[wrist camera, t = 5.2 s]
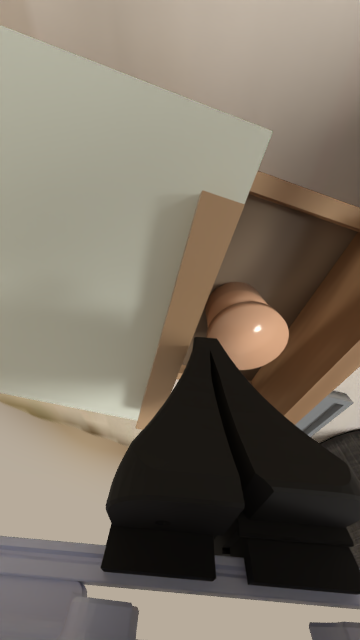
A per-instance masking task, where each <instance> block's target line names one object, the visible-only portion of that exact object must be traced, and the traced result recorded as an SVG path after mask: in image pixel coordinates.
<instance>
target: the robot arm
mask: <svg viewBox="0 0 360 640" xmlns="http://www.w3.org/2000/svg"><path fill="white" fill-rule="evenodd" d="M106 511H107V513H108V516H109V518H110V520H111V523H112V524H111V528H110V532H109V536H108V540H107V544H106V545H95V544H84V543H73V542H61V541H50V540H40V539H28V538H18V537H6V536H0V640H136V629H137V621H138V614H139V611H138V608H137V607H134V606H132V604H131V603H128V602H120V601H112V600H104V599H96V598H87V591H86V588H85V586H84V585H83V584H86V585H97V586H107V587H119V588H130V589H141V590H152V591H163V592H174V593H185V594H196V595H207V596H218V597H230V598H240V599H251V600H263V601H274V602H284V603H285V602H286V603H295V604H306V605H318V606H329V607H340V608H351V609H360V568H359V567H358V565H357V562H356V560H355V558H354V556H353V554H352V552H351V550H350V548H349V547H353V546H354V543H353V540H352V538H351V536H350V534H349V532H348V530H347V528H346V527H348V526H350V525H352V524H354V523H356V522H358V521H360V483H359V482H358V480H357V478H356V477H355V475H354V474H353V472H352V471H351V469H350V468H349V466H348V465H347V463H345V462H344V461H343V460H341V459H340V458H338V457H337V456H336V455H334V454H333V453H331V452H330V451H329V450H327V449H326V448H325V447H323V446H322V445H320V444H319V443H318V442H316V441H315V440H313V439H312V438H311V437H309V436H308V435H307V434H306V433H304V432H303V431H302V430H301V429H299V428H298V427H297V426H296V425H294V424H293V423H292V422H291V421H289V420H288V419H287V418H286V417H285V416H284V415H282V414H281V413H280V412H279V411H278V410H277V409H276V408H275V407H273V406H272V405H271V404H270V403H269V402H268V401H267V400H266V399H265V398H264V397H263V396H262V395H261V394H260V393H259V392H258V391H257V390H256V389H255V388H254V387H253V386H252V385H251V384H250V382H249V381H248V380H247V379H246V378H245V377H244V375H243V374H242V373H241V372H240V370H239V369H238V368H237V367H236V365H235V364H234V363H233V361H232V360H231V359H230V357H229V356H228V354H227V353H226V351H225V350H224V348H223V347H222V345H221V344H220V342H219V341H218V339H217V338H206V337H195V338H194V342H193V349H192V353H191V356H190V358H189V361H188V363H187V365H186V368H185V370H184V372H183V374H182V376H181V378H180V379H179V381H178V383H177V385H176V386H175V388H174V389H173V391H172V393H171V394H170V396H169V397H168V399H167V400H166V401H165V403H164V404H163V406H162V407H161V408H160V409H159V411H158V412H157V413H156V415H155V416H154V417H153V418H152V420H151V421H150V422H149V423H148V425H147V426H146V427H145V428H144V429H143V430H142V431H141V432H140V434H139V435H138V436H137V437H136V438H135V439H134V440H133V441H132V443H131V444H130V446H129V448H128V450H127V452H126V454H125V455H124V457H123V459H122V461H121V463H120V465H119V467H118V469H117V472H116V474H115V477H114V479H113V482H112V485H111V489H110V492H109V496H108V499H107V503H106ZM309 629H310V633H311V636H312V639H313V640H360V623H354V622H338V623H312V622H310V624H309Z"/></svg>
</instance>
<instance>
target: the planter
mask: <svg viewBox="0 0 360 640" xmlns="http://www.w3.org/2000/svg"><path fill="white" fill-rule="evenodd" d="M320 445H322V446H323V447H325V448H326V449H327V450H329V451H330V452H331V453H333V454H334V455H336V456H337V457H338V458H340V459H341V460H343V461H344V462H345V463H347V465H348V466H349V468H350V469H351V471H352V472H353V474H354V475H355V477H356V478H357V480H358V482H359V483H360V430H359V431H354V432H350V433H346V434H343V435H340V436H337V437H334V438H332V439H329V440H327V441H325V442H323V443H321V444H320ZM346 528H347V530H348V532H349V534H350V536H351V538H352V540H353V543H354V546H353V547H349V548H350V550H351V552H352V554H353V556H354V558H355V560H356V562H357V565H358V567H359V568H360V521H358V522H356V523H354V524H352V525H350V526H348V527H346Z"/></svg>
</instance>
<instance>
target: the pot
mask: <svg viewBox="0 0 360 640" xmlns="http://www.w3.org/2000/svg"><path fill="white" fill-rule="evenodd" d="M205 311H206V318H207V326H208V329H207V338H217V339H218V341H219V342H220V344H221V345H222V347H223V348H224V350H225V351H226V353H227V354H228V356H229V357H230V359H231V360H232V361H233V363H234V364H235V365H236V367H237V368H238V369H239V370H249V369H254V368H258V367H261V366H264V365H266V364H268V363H269V362H271V361H273V360H274V359H275V358H277V357H278V356H279V355H280V354H281V352H282V351H283V350H284V348H285V347H286V344H287V342H288V338H289V330H288V326H287V324H286V322H285V320H284V319H283V318H282V317H281V315H280V314H279V313H278V312H277V311H276V310H275V309H274V308H273V307H271V306H269V305H268V304H267V303H266V302H265V300H264V299H263V298H262V297H261V295H260V294H259V293H258V292H257V290H256V289H255V288H254V287H252V286H251V285H249V284H246V283H243V282H230V283H226V284H224V285H222V286H220V287H218V288H217V289H215V290H214V291H213V292H212V293H211V295H210V296H209V298H208V300H207V302H206V307H205Z"/></svg>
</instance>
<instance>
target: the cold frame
mask: <svg viewBox="0 0 360 640" xmlns="http://www.w3.org/2000/svg"><path fill="white" fill-rule="evenodd" d="M230 282H243V283H246V284H249V285H251V286H252V287H254V288H255V289H256V290H257V292H258V293H259V294H260V295H261V297H262V298H263V299H264V300H265V302H266V303H267V304H268V305H269V306H271V307H273V308H274V309H275V310H276V311H277V312H278V313H279V314H280V315H281V317H282V318H283V319H284V320H285V322H286V324H287V326H288V330H289V338H288V342H287V344H286V347H285V348H284V350H283V351H282V352H281V354H280V355H279V356H278V357H277V358H275V359H274V360H273V361H271V362H269V363H268V364H266V365H264V366H261V367H258V368H254V369H249V370H240V372H241V373H242V374H243V375H244V377H245V378H246V379H247V380H248V381H249V382H250V384H251V385H252V386H253V387H254V388H255V389H256V390H257V391H258V392H259V393H260V394H261V395H262V396H263V397H264V398H265V399H266V400H267V401H268V402H269V403H270V404H271V405H272V406H273V407H275V408H276V409H277V410H278V411H279V412H280V413H281V414H282V415H284V416H285V417H286V418H287V419H288V420H289V421H291V422H292V423H293V424H294V425H295V424H297V423H298V422H299V421H300V420H301V419H302V418H303V417H304V416H305V415H306V414H308V413H309V412H310V411H311V410H312V409H313V408H314V407H315V406H316V405H318V404H319V403H320V402H321V401H322V400H323V399H324V398H325V397H326V396H328V395H329V394H330V393H331V392H332V391H333V390H334V389H335V388H336V387H337V386H339V385H340V384H341V383H342V382H343V381H344V380H345V379H346V378H347V377H349V376H350V375H351V374H352V373H353V372H354V371H355V370H356V369H357V368H358V367H360V208H359V207H356V206H353V205H351V204H348V203H345V202H342V201H340V200H337V199H334V198H331V197H329V196H326V195H323V194H320V193H318V192H315V191H312V190H309V189H307V188H304V187H301V186H298V185H296V184H293V183H290V182H287V181H284V180H282V179H279V178H276V177H273V176H271V175H268V174H265V173H262V172H260V171H257V174H256V176H255V179H254V181H253V184H252V187H251V189H250V192H249V194H248V197H247V199H246V202H245V206H244V208H243V211H242V213H241V216H240V218H239V221H238V223H237V226H236V229H235V231H234V234H233V236H232V239H231V241H230V244H229V246H228V249H227V251H226V254H225V257H224V259H223V262H222V264H221V267H220V269H219V272H218V274H217V277H216V279H215V282H214V284H213V287H212V290H211V292H210V295H211V293H212V292H213V291H214V290H215V289H217V288H218V287H220V286H222V285H224V284H226V283H230ZM210 295H209V296H210ZM208 298H209V297H208ZM205 307H206V305H205ZM205 307H204V310H203V312H202V315H201V317H200V320H199V323H198V325H197V328H196V330H195V333H194V335H193V338H192V340H191V343H190V345H189V348H188V350H187V353H186V356H185V358H184V361H183V363H182V366H181V368H180V371H179V373H178V376H177V378H176V379H180V378H181V376H182V374H183V372H184V370H185V368H186V365H187V363H188V361H189V358H190V356H191V353H192V349H193V342H194V338H195V337H206V338H207V329H208V326H207V318H206V311H205Z"/></svg>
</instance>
